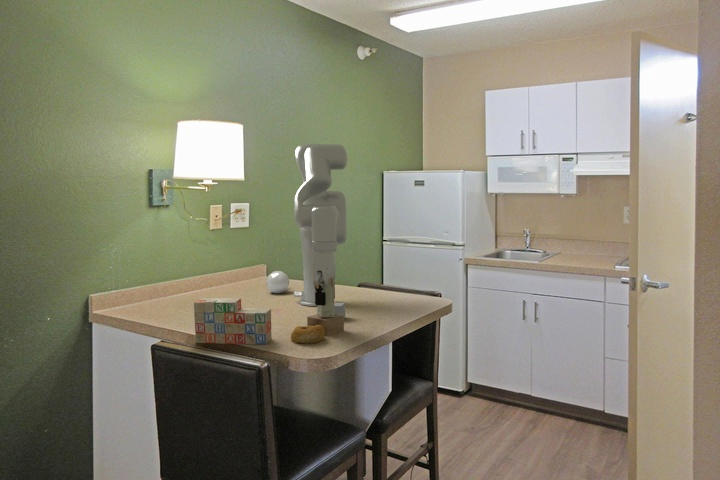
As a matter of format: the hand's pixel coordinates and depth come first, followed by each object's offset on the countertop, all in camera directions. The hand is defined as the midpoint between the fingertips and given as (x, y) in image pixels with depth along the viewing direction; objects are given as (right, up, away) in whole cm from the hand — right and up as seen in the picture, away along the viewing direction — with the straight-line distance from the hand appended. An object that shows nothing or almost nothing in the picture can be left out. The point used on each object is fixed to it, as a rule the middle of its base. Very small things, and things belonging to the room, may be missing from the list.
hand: (325, 301), depth 182 cm
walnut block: (0, -9, +1) cm, 10 cm away
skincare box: (0, -5, +1) cm, 5 cm away
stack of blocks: (-26, -11, -9) cm, 30 cm away
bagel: (-5, -11, -8) cm, 14 cm away
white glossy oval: (-24, -3, +66) cm, 70 cm away
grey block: (+3, -8, +17) cm, 19 cm away
